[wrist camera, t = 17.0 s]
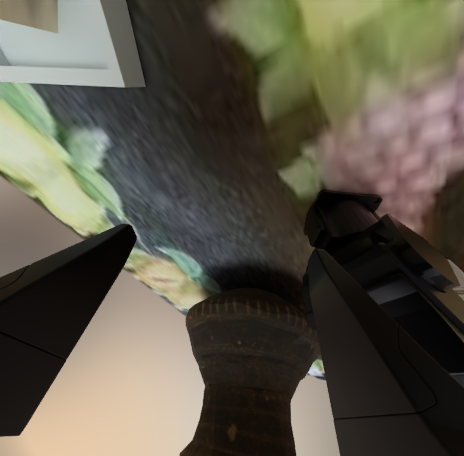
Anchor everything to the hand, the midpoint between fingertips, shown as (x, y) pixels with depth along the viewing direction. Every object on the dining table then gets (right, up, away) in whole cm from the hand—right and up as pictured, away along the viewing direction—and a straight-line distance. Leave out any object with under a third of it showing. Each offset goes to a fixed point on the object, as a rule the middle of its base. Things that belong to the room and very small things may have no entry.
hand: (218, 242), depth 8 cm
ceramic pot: (+5, -14, +28) cm, 32 cm away
